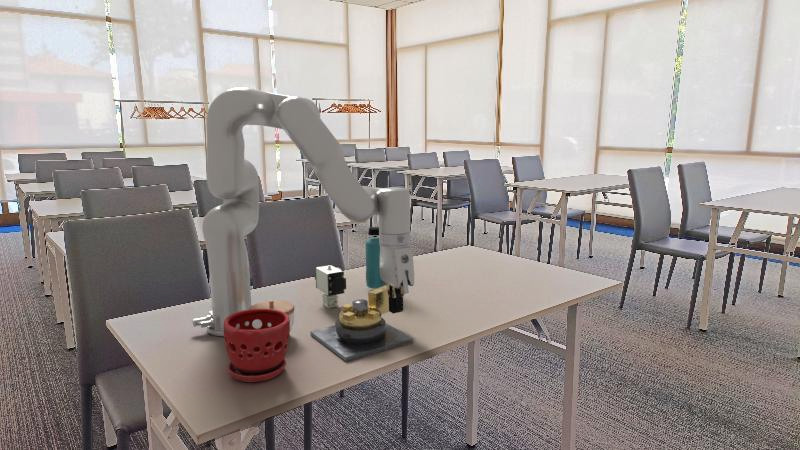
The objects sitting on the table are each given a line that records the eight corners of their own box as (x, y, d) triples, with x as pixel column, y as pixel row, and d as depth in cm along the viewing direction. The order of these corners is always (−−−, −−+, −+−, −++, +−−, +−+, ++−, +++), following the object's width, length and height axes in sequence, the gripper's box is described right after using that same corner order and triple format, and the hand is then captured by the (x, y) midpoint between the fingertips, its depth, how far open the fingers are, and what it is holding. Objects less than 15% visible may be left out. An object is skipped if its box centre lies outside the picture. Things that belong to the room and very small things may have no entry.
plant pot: (239, 394, 99) (235, 335, 97) (218, 369, 110) (214, 315, 108) (302, 375, 107) (299, 320, 105) (276, 353, 117) (274, 302, 115)
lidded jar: (304, 337, 126) (302, 300, 125) (264, 350, 119) (262, 311, 117) (280, 325, 134) (278, 290, 132) (242, 337, 127) (239, 300, 125)
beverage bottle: (390, 292, 161) (389, 228, 157) (369, 294, 158) (368, 230, 154) (382, 286, 167) (382, 224, 163) (363, 288, 164) (361, 226, 160)
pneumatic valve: (331, 314, 142) (330, 271, 140) (314, 302, 152) (313, 262, 150) (349, 310, 145) (348, 268, 143) (332, 298, 155) (330, 259, 152)
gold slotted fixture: (362, 333, 118) (362, 307, 116) (330, 323, 123) (329, 299, 122) (406, 311, 131) (406, 288, 130) (376, 304, 137) (375, 282, 136)
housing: (345, 361, 113) (345, 344, 112) (309, 334, 128) (309, 319, 127) (412, 342, 123) (412, 326, 122) (372, 319, 138) (371, 304, 137)
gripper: (424, 242, 120) (424, 318, 124) (393, 232, 133) (395, 300, 137) (396, 246, 117) (397, 324, 120) (367, 235, 130) (369, 305, 133)
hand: (396, 311), depth 129 cm, fingers closed
